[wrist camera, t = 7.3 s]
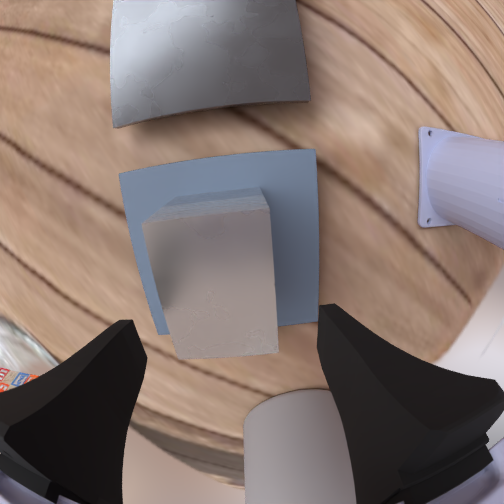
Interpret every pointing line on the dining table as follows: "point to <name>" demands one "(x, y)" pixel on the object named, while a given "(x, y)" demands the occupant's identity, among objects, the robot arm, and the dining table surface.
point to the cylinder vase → (297, 451)
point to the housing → (215, 273)
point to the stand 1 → (203, 56)
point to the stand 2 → (281, 216)
